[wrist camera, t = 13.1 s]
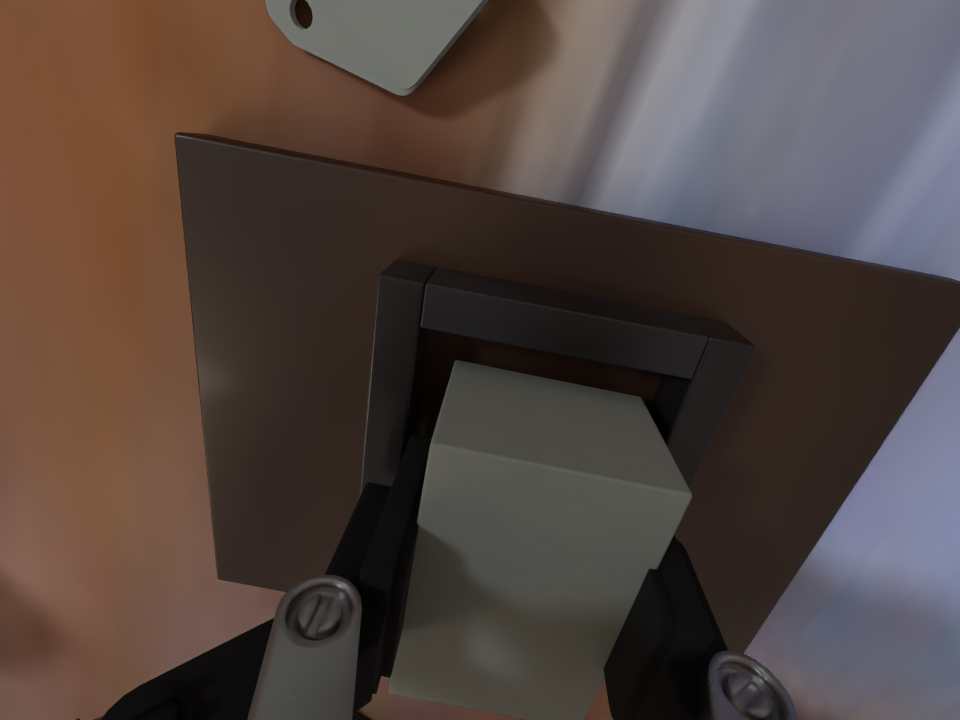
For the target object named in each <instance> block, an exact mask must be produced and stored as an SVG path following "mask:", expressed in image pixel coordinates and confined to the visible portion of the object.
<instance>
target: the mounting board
mask: <svg viewBox="0 0 960 720" xmlns="http://www.w3.org/2000/svg"><path fill="white" fill-rule="evenodd" d="M174 137H175V147H176V157H177V167H178V178H179V188H180V198H181V208H182V219H183V229H184V239H185V250H186V260H187V270H188V280H189V291H190V301H191V311H192V321H193V332H194V342H195V352H196V362H197V373H198V383H199V393H200V404H201V414H202V424H203V434H204V445H205V455H206V465H207V475H208V486H209V496H210V506H211V516H212V527H213V537H214V547H215V558H216V568H217V578H218V579H220V580H225V581H230V582H236V583H241V584H246V585H252V586H257V587H262V588H268V589H273V590H278V591H284V592H288V591H289V589H290V588H292V587H293V586H295V585H296V584H297V583H299V582H300V581H302V580H305V579H307V578H310V577H312V576H317V575H325V573H326V571H327V568H328V566H329V564H330V562H331V560H332V557H333V555H334V553H335V551H336V549H337V547H338V544H339V542H340V540H341V538H342V536H343V533H344V531H345V529H346V527H347V525H348V522H349V520H350V518H351V516H352V514H353V511H354V509H355V507H356V505H357V503H358V501H359V498H360V496H361V494H362V492H363V490H364V488H365V486H366V484H367V483H368V482H371V483H376V484H381V485H386V486H392V484H393V481H394V479H395V476H396V473H397V471H398V468H399V465H400V463H401V460H402V457H403V455H404V452H405V449H406V447H407V444H408V441H409V439H410V436H411V435H415V436H420V437H425V438H431V439H432V437H433V433H434V430H435V426H436V423H437V420H438V416H439V413H440V409H441V406H442V403H443V399H444V396H445V393H446V389H447V386H448V382H449V379H450V376H451V372H452V369H453V366H454V362H455V361H456V360H459V361H464V362H469V363H474V364H479V365H484V366H489V367H494V368H499V369H504V370H509V371H514V372H519V373H524V374H529V375H534V376H539V377H544V378H549V379H554V380H559V381H564V382H569V383H574V384H579V385H583V386H588V387H593V388H598V389H603V390H608V391H613V392H618V393H623V394H628V395H633V396H638V397H641V398H642V400H643V402H644V404H645V406H646V408H647V409H648V411H649V413H650V415H651V417H652V419H653V421H654V423H655V425H656V427H657V428H658V430H659V432H660V434H661V436H662V438H663V440H664V442H665V444H666V446H667V448H668V449H669V451H670V453H671V455H672V457H673V459H674V461H675V463H676V465H677V467H678V468H679V470H680V472H681V474H682V476H683V478H684V480H685V482H686V484H687V486H688V487H689V489H690V491H691V493H692V499H691V501H690V503H689V505H688V507H687V509H686V511H685V513H684V515H683V517H682V519H681V521H680V523H679V525H678V528H677V530H676V532H675V537H676V539H677V541H679V542H681V543H682V544H683V545H684V547H685V549H686V551H687V553H688V556H689V558H690V560H691V563H692V565H693V568H694V570H695V572H696V575H697V577H698V579H699V582H700V584H701V587H702V589H703V591H704V594H705V596H706V598H707V601H708V603H709V606H710V608H711V610H712V613H713V615H714V618H715V620H716V622H717V625H718V627H719V629H720V632H721V634H722V637H723V639H724V641H725V644H726V646H727V648H728V651H730V650H731V651H735V652H739V653H744V652H745V650H746V649H747V647H748V646H749V644H750V643H751V641H752V640H753V638H754V637H755V635H756V634H757V632H758V631H759V629H760V628H761V626H762V625H763V623H764V622H765V620H766V619H767V617H768V616H769V614H770V613H771V611H772V610H773V608H774V607H775V605H776V604H777V602H778V601H779V599H780V598H781V596H782V595H783V593H784V591H785V590H786V588H787V587H788V585H789V584H790V582H791V581H792V579H793V578H794V576H795V575H796V573H797V572H798V570H799V569H800V567H801V566H802V564H803V563H804V561H805V560H806V558H807V557H808V555H809V554H810V552H811V551H812V549H813V548H814V546H815V545H816V543H817V542H818V540H819V539H820V537H821V536H822V534H823V533H824V531H825V530H826V528H827V527H828V525H829V524H830V522H831V521H832V519H833V518H834V516H835V515H836V513H837V512H838V510H839V509H840V507H841V506H842V504H843V503H844V501H845V500H846V498H847V497H848V495H849V494H850V492H851V491H852V489H853V488H854V486H855V484H856V483H857V481H858V480H859V478H860V477H861V475H862V474H863V472H864V471H865V469H866V468H867V466H868V465H869V463H870V462H871V460H872V459H873V457H874V456H875V454H876V453H877V451H878V450H879V448H880V447H881V445H882V444H883V442H884V441H885V439H886V438H887V436H888V435H889V433H890V432H891V430H892V429H893V427H894V426H895V424H896V423H897V421H898V420H899V418H900V417H901V415H902V414H903V412H904V411H905V409H906V408H907V406H908V405H909V403H910V402H911V400H912V399H913V397H914V396H915V394H916V393H917V391H918V390H919V388H920V387H921V385H922V384H923V382H924V381H925V379H926V377H927V376H928V374H929V373H930V371H931V370H932V368H933V367H934V365H935V364H936V362H937V361H938V359H939V358H940V356H941V355H942V353H943V352H944V350H945V349H946V347H947V346H948V344H949V343H950V341H951V340H952V338H953V337H954V335H955V334H956V332H957V331H958V329H959V328H960V281H958V280H954V279H951V278H947V277H942V276H937V275H931V274H926V273H921V272H916V271H911V270H905V269H900V268H895V267H890V266H885V265H880V264H874V263H869V262H864V261H859V260H854V259H849V258H843V257H838V256H833V255H828V254H823V253H817V252H812V251H807V250H802V249H797V248H792V247H786V246H781V245H776V244H771V243H766V242H761V241H755V240H750V239H745V238H740V237H735V236H729V235H724V234H719V233H714V232H709V231H704V230H698V229H693V228H688V227H683V226H678V225H672V224H667V223H662V222H657V221H652V220H647V219H641V218H636V217H631V216H626V215H621V214H616V213H610V212H605V211H600V210H595V209H590V208H584V207H579V206H574V205H569V204H564V203H559V202H553V201H548V200H543V199H538V198H533V197H528V196H522V195H517V194H512V193H507V192H502V191H496V190H491V189H486V188H481V187H476V186H471V185H465V184H460V183H455V182H450V181H445V180H440V179H434V178H429V177H424V176H419V175H414V174H408V173H403V172H398V171H393V170H388V169H383V168H377V167H372V166H367V165H362V164H357V163H352V162H346V161H341V160H336V159H331V158H326V157H320V156H315V155H310V154H305V153H300V152H295V151H289V150H284V149H279V148H274V147H269V146H263V145H258V144H253V143H248V142H243V141H238V140H232V139H227V138H222V137H217V136H212V135H207V134H199V133H182V132H178V133H176V134H175V136H174Z"/></svg>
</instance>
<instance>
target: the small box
mask: <svg viewBox="0 0 960 720" xmlns="http://www.w3.org/2000/svg"><path fill="white" fill-rule="evenodd" d="M352 720H365V719H363V718H362V717H360V716H359V715H357V714H356V713H354V714H353V715H352Z"/></svg>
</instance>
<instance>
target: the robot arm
mask: <svg viewBox="0 0 960 720" xmlns="http://www.w3.org/2000/svg"><path fill="white" fill-rule="evenodd" d="M431 440H432V439H431V438H425V437H420V436H415V435H411V436H410V439H409V441H408V444H407V447H406V449H405V452H404V455H403V457H402V460H401V463H400V465H399V468H398V471H397V473H396V476H395V479H394V481H393V484H392V486H386V485H381V484H376V483H371V482H368V483H367V484H366V486H365V488H364V490H363V492H362V494H361V496H360V498H359V501H358V503H357V505H356V507H355V509H354V511H353V514H352V516H351V518H350V520H349V522H348V525H347V527H346V529H345V531H344V533H343V536H342V538H341V540H340V542H339V544H338V547H337V549H336V551H335V553H334V555H333V557H332V560H331V562H330V564H329V566H328V568H327V571H326V573H325V575H317V576H312V577H310V578H307V579H305V580H302V581H300V582H299V583H297V584H296V585H295V586H293V587H292V588H290V589H289V591H288V592H287V593H286V594H285V595H284V596H283V598H282V599H281V601H280V603H279V606H278V608H277V610H276V614H275V617H274V618H273V619H271V620H269V621H267V622H265V623H263V624H261V625H259V626H257V627H255V628H253V629H251V630H249V631H247V632H245V633H243V634H241V635H239V636H237V637H235V638H233V639H231V640H229V641H227V642H225V643H223V644H221V645H219V646H217V647H215V648H213V649H211V650H209V651H207V652H205V653H203V654H201V655H199V656H197V657H195V658H193V659H191V660H189V661H187V662H185V663H183V664H181V665H180V666H178V667H176V668H174V669H172V670H170V671H168V672H166V673H164V674H162V675H160V676H158V677H156V678H154V679H152V680H150V681H148V682H146V683H144V684H142V685H140V686H139V687H137V688H135V689H134V690H132V691H131V692H129V693H127V694H126V695H124V696H123V697H122V698H121V699H120V700H119V701H118V702H117V703H115V704H114V705H113V706H112V707H111V708H110V709H109V710H108V711H107V712H106V714H105V715H104V716H102V717H99V718H97V719H94V720H352V715H353V714H354V713H355V712H356V711H358V710H359V709H361V708H362V707H363V706H365V705H366V704H368V703H369V702H370V701H371V698H372V694H373V693H374V694H376V693H377V689H378V685H379V681H380V677H381V676H384V677H389V678H391V674H392V671H393V666H394V662H395V658H396V654H397V650H398V646H399V642H400V638H401V633H402V628H403V622H404V616H405V609H406V603H407V597H408V590H409V584H410V578H411V571H412V565H413V559H414V553H415V546H416V540H417V534H418V527H419V525H418V524H417V518H418V513H419V507H420V501H421V495H422V489H423V483H424V478H425V472H426V466H427V460H428V454H429V448H430V443H431ZM603 670H604V676H605V682H606V688H607V694H608V700H609V706H610V712H611V715H612V718H613V719H614V720H799V719H798V716H797V712H796V709H795V707H794V704H793V702H792V700H791V698H790V695H789V694H788V692H787V691H786V689H785V688H784V687H783V685H782V684H781V682H780V681H779V680H778V679H777V678H776V677H775V676H774V675H773V674H772V673H771V672H770V671H769V670H768V669H767V668H766V667H764V666H763V665H762V664H760V663H759V662H758V661H756V660H755V659H753V658H751V657H749V656H747V655H745V654H743V653H739V652H735V651H731V650H730V651H728V648H727V646H726V644H725V641H724V639H723V637H722V634H721V632H720V629H719V627H718V625H717V622H716V620H715V618H714V615H713V613H712V610H711V608H710V606H709V603H708V601H707V598H706V596H705V594H704V591H703V589H702V587H701V584H700V582H699V579H698V577H697V575H696V572H695V570H694V568H693V565H692V563H691V560H690V558H689V556H688V553H687V551H686V549H685V547H684V545H683V544H682V543H681V542H679V541H677V539H676V537H675V534H674V536H673V538H672V540H671V542H670V544H669V546H668V548H667V550H666V552H665V554H664V556H663V558H662V560H661V562H660V565H659V567H658V569H650V568H649V570H648V572H647V574H646V577H645V579H644V581H643V583H642V585H641V587H640V590H639V592H638V594H637V596H636V598H635V601H634V603H633V605H632V607H631V609H630V611H629V614H628V616H627V618H626V620H625V622H624V625H623V627H622V629H621V631H620V633H619V635H618V638H617V640H616V642H615V644H614V646H613V649H612V651H611V653H610V655H609V657H608V659H607V662H606V664H605V666H604V668H603ZM76 720H80V719H79V718H78V719H76Z"/></svg>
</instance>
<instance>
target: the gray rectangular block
mask: <svg viewBox="0 0 960 720" xmlns="http://www.w3.org/2000/svg"><path fill="white" fill-rule="evenodd" d="M691 499H692V493H691V491H690V489H689V487H688V486H687V484H686V482H685V480H684V478H683V476H682V474H681V472H680V470H679V468H678V467H677V465H676V463H675V461H674V459H673V457H672V455H671V453H670V451H669V449H668V448H667V446H666V444H665V442H664V440H663V438H662V436H661V434H660V432H659V430H658V428H657V427H656V425H655V423H654V421H653V419H652V417H651V415H650V413H649V411H648V409H647V408H646V406H645V404H644V402H643V400H642V398H641V397H638V396H633V395H628V394H623V393H618V392H613V391H608V390H603V389H598V388H593V387H588V386H583V385H579V384H574V383H569V382H564V381H559V380H554V379H549V378H544V377H539V376H534V375H529V374H524V373H519V372H514V371H509V370H504V369H499V368H494V367H489V366H484V365H479V364H474V363H469V362H464V361H459V360H456V361H455V362H454V366H453V369H452V372H451V376H450V379H449V382H448V386H447V389H446V393H445V396H444V399H443V403H442V406H441V409H440V413H439V416H438V420H437V423H436V426H435V430H434V433H433V437H432V440H431V443H430V448H429V454H428V460H427V466H426V472H425V478H424V483H423V489H422V495H421V501H420V507H419V513H418V518H417V524H418V525H419V527H418V534H417V540H416V546H415V553H414V559H413V565H412V571H411V578H410V584H409V590H408V597H407V603H406V609H405V616H404V622H403V628H402V633H401V638H400V642H399V646H398V650H397V654H396V658H395V662H394V666H393V671H392V674H391V678H390V682H389V688H388V692H389V693H390V694H395V695H401V696H406V697H411V698H416V699H422V700H427V701H432V702H437V703H442V704H448V705H453V706H458V707H463V708H469V709H474V710H479V711H484V712H489V713H495V714H500V715H505V716H510V717H515V718H521V719H526V720H584V719H585V717H586V715H587V713H588V710H589V708H590V706H591V704H592V702H593V700H594V698H595V696H596V694H597V692H598V690H599V688H600V686H601V684H602V682H603V680H604V678H605V676H604V670H603V668H604V666H605V664H606V662H607V659H608V657H609V655H610V653H611V651H612V649H613V646H614V644H615V642H616V640H617V638H618V635H619V633H620V631H621V629H622V627H623V625H624V622H625V620H626V618H627V616H628V614H629V611H630V609H631V607H632V605H633V603H634V601H635V598H636V596H637V594H638V592H639V590H640V587H641V585H642V583H643V581H644V579H645V577H646V574H647V572H648V570H649V568H650V569H658V567H659V565H660V562H661V560H662V558H663V556H664V554H665V552H666V550H667V548H668V546H669V544H670V542H671V540H672V538H673V536H674V534H675V532H676V530H677V528H678V525H679V523H680V521H681V519H682V517H683V515H684V513H685V511H686V509H687V507H688V505H689V503H690V501H691Z"/></svg>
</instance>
